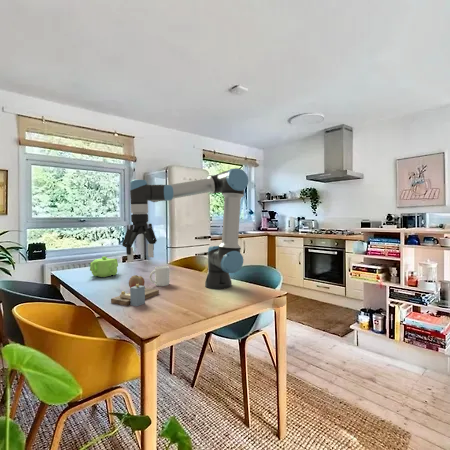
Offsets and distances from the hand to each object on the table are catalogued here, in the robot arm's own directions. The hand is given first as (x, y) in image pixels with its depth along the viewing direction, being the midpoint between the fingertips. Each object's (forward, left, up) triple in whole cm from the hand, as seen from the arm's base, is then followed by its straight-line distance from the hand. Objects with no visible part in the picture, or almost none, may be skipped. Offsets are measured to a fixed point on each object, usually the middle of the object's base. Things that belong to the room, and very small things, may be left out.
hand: (141, 259), depth 135 cm
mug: (+14, -30, -20) cm, 39 cm away
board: (+7, -4, -20) cm, 22 cm away
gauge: (+4, +3, -20) cm, 21 cm away
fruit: (+18, -16, -20) cm, 32 cm away
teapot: (+63, -35, -20) cm, 75 cm away
